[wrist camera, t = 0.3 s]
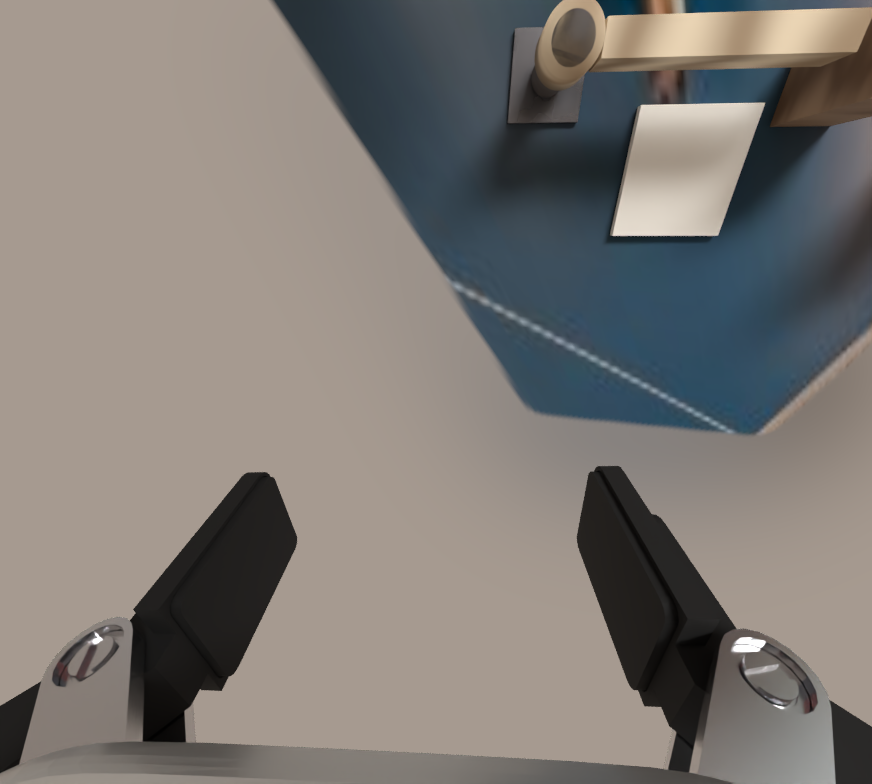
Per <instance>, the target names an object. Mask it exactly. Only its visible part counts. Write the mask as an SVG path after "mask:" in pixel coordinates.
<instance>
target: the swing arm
mask: <svg viewBox="0 0 872 784" xmlns="http://www.w3.org/2000/svg"><path fill="white" fill-rule="evenodd" d="M871 19H872V7H871V8H840V9H808V10H777V11H745V12H714V13H682V14H651V15H620V16H608V17H607V19H606V20H605V17H604V14H603V11H602V9H601V7H600V5H599V4H598V3H597V1H596V0H563V1H562V2H561V3H560V4H558V6H557V7H556V8H555V9H554V10H553V12H552V13H551V15H550V17H549V19H548V21H547V23H546V25H545V27H544V29H543V31H542V33H541V35H540V38H539V40H538V43H537V46H536V50H535V59H534V61H535V66H534V68H533V71H532V85H533V88H534V90H535V92H536V93H537V94H538V95H539V96H541V97H551V96H553V95H555V94H556V93H557V92H558V91H561V90H565V89H568V88H570V87H571V86H573V85H574V84H575V83H577V82H578V81H579V80H580V79H581V77H582V76H583V75H584V74H585V73H586V72H587V71H588V70H589V72H616V71H658V70H699V69H741V68H783V67H821V66H824V65H826V64H828V63H831V62H833V61H836V60H838V59H841V58H843V57H846V56H848V55H851V54H853V53H856V52H857V51H858V49H859V46H860V44H861V42H862V39H863V37H864V35H865V32H866V30H867V28H868V25H869V23H870V21H871Z"/></svg>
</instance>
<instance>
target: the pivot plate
mask: <svg viewBox="0 0 872 784" xmlns="http://www.w3.org/2000/svg"><path fill="white" fill-rule="evenodd" d="M543 29H544V27H534V28H515V33H514V46H513V59H512V72H511V85H510V98H509V111H508V123H507V124H534V123H577V121H578V115H579V108H580V102H581V95H582V89H583V82H584V76H585V74H584V75H583V76H582V77H581V79H580V80H579V81H578V82H577V83H575V84H574V85H573V86H571V87H570V88H568V89H565V90H561V91H558V92H557V93H556V94H555V95H553V96H551V97H541V96H539V95H538V94H537V93H536V92H535V90H534V88H533V85H532V71H533V68H534V66H535V61H534V59H535V50H536V46H537V43H538V40H539V38H540V35H541V33H542V31H543Z"/></svg>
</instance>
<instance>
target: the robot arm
mask: <svg viewBox="0 0 872 784" xmlns="http://www.w3.org/2000/svg"><path fill="white" fill-rule="evenodd" d="M577 543H578V548H579V551H580V553H581V556H582V559H583V562H584V564H585V567H586V570H587V572H588V575H589V578H590V581H591V583H592V586H593V589H594V592H595V594H596V597H597V600H598V602H599V605H600V608H601V610H602V613H603V616H604V619H605V621H606V624H607V627H608V629H609V632H610V635H611V638H612V640H613V643H614V646H615V648H616V651H617V654H618V656H619V659H620V662H621V665H622V668H623V670H624V673H625V675H626V678H627V681H628V683H629V685H630V687H631V688H632V689H633V690H638V691H639V693H640V696H641V698H642V701H643V704H644V706H652V707H653V706H655V707H662V710H663V712H664V715H665V717H666V719H667V722H668V724H669V726H670V727H671V728H672V729H673V730H672V734H671V738H670V743H669V747H668V751H667V755H666V759H665V764H664V768H663V769H658V768H651V767H639V766H624V765H613V764H599V763H587V762H573V761H556V760H539V759H521V758H503V757H484V756H466V755H448V754H429V753H409V752H407V753H406V752H389V751H369V750H348V749H328V748H306V747H284V746H262V745H240V744H239V745H238V744H216V743H196V737H195V724H194V710H193V701H194V699H195V697H196V695H197V693H198V691H199V690H200V689H201V690H215V691H222V689H223V687H224V685H225V683H226V681H227V679H228V677H229V676H231V675H233V674H234V673H235V671H236V670H237V668H238V666H239V664H240V662H241V660H242V658H243V656H244V653H245V652H246V650H247V648H248V646H249V644H250V641H251V639H252V637H253V635H254V633H255V631H256V629H257V627H258V625H259V623H260V621H261V619H262V617H263V615H264V612H265V610H266V608H267V606H268V604H269V602H270V600H271V598H272V596H273V594H274V592H275V590H276V587H277V585H278V583H279V581H280V579H281V577H282V575H283V573H284V571H285V569H286V567H287V565H288V562H289V561H290V558H291V556H292V554H293V552H294V550H295V548H296V544H297V536H296V533H295V530H294V528H293V526H292V523H291V520H290V518H289V515H288V512H287V510H286V507H285V505H284V502H283V499H282V497H281V494H280V491H279V489H278V486H277V484H276V481H275V479H274V478H273V477H270V475H269V474H268V473H266V472H257V473H256V472H255V473H246V474H244V475H243V476H242V477H241V478H240V480H239V481H238V482H237V483H236V485H235V486H234V487H233V488H232V489H231V491H230V492H229V493H228V494H227V496H226V497H225V498H224V499H223V500H222V502H221V503H220V504H219V505H218V507H217V508H216V509H215V510H214V511H213V513H212V514H211V515H210V516H209V518H208V519H207V520H206V521H205V522H204V524H203V525H202V526H201V527H200V529H199V530H198V531H197V532H196V533H195V535H194V536H193V537H192V538H191V540H190V541H189V542H188V543H187V544H186V546H185V547H184V548H183V549H182V551H181V552H180V553H179V554H178V555H177V557H176V558H175V559H174V560H173V562H172V563H171V564H170V565H169V567H168V568H167V569H166V570H165V571H164V573H163V574H162V575H161V576H160V577H159V579H158V580H157V581H156V582H155V584H154V585H153V586H152V587H151V589H150V590H149V591H148V592H147V593H146V595H145V596H144V597H143V598H142V599H141V601H140V602H139V603H138V605H137V606H136V607H135V608H134V609H133V610H134V611H135V612H136V614H135V615H134V616H133V617H132V619H131V620H130V621H129V620H128V619H127V618H122V617H116V618H111V619H107V620H104V621H102V622H99V623H97V624H95V625H93V626H91V627H90V628H88V629H87V630H85V631H83V632H82V633H80V634H79V635H78V636H76V637H75V638H74V639H73V640H71V641H70V642H69V643H68V644H67V645H66V646H65V647H64V648H63V649H62V650H61V651H60V652H59V653H58V654H57V655H56V656H55V658H54V659H53V660H52V662H51V663H50V664H49V666H48V667H47V669H46V671H45V674H44V676H43V678H42V681H41V682H39V683H38V684H36V685H34V686H33V687H31V688H29V689H28V690H26V691H24V692H23V693H21V694H19V695H18V696H16V697H14V698H13V699H11V700H9V701H8V702H6V703H5V704H3V705H1V706H0V784H872V727H871V726H870V725H868V724H866V723H865V722H863V721H862V720H860V719H859V718H857V717H855V716H854V715H852V714H851V713H849V712H847V711H846V710H844V709H843V708H841V707H840V706H838V705H837V704H835V703H833V702H832V701H830V700H829V698H828V694H827V692H826V690H825V688H824V687H823V685H822V683H821V681H820V680H819V678H818V677H817V675H816V674H815V673H814V672H813V671H812V670H811V668H810V667H809V666H808V665H807V664H806V663H805V662H804V661H803V660H802V659H801V658H800V657H799V656H797V655H796V654H795V653H794V652H792V650H790V649H789V648H788V647H786V646H784V645H783V644H781V643H780V642H778V641H777V640H775V639H773V638H771V637H769V636H766V635H764V634H762V633H760V632H757V631H752V630H748V629H736V627H735V626H734V624H733V623H732V621H731V620H730V619H729V617H728V616H727V614H726V613H725V611H724V610H723V608H722V607H721V605H720V604H719V602H718V601H717V600H716V598H715V596H714V595H713V594H712V592H711V591H710V589H709V588H708V586H707V585H706V583H705V582H704V580H703V579H702V577H701V576H700V574H699V573H698V571H697V570H696V568H695V567H694V565H693V564H692V563H691V562H690V560H689V558H688V557H687V555H686V554H685V552H684V551H683V549H682V548H681V546H680V545H679V543H678V542H677V540H676V539H675V537H674V536H673V535H672V533H671V532H670V530H669V529H668V527H667V526H666V524H665V523H664V522H663V521H662V519H661V518H659V517H658V516H657V515H652V514H651V513H650V511H649V510H648V508H647V506H646V505H645V504H644V502H643V500H642V499H641V498H640V496H639V494H638V493H637V491H636V490H635V488H634V487H633V485H632V484H631V482H630V480H629V479H628V477H627V476H626V474H625V473H624V471H623V470H622V469H621V467H619V466H598V467H596V469H595V471H594V472H590V473H589V475H588V480H587V486H586V491H585V497H584V501H583V508H582V512H581V517H580V523H579V528H578V534H577Z"/></svg>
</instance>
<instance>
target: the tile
mask: <svg viewBox="0 0 872 784" xmlns="http://www.w3.org/2000/svg"><path fill="white" fill-rule="evenodd" d="M764 105H765V103H723V104H671V105H641V106H639V107H638V109H637V113H636V118H635V122H634V127H633V132H632V136H631V141H630V145H629V150H628V154H627V159H626V164H625V168H624V173H623V177H622V182H621V186H620V191H619V196H618V200H617V205H616V209H615V214H614V219H613V223H612V228H611V232H610V236H718V234H719V231H720V229H721V226H722V223H723V220H724V217H725V215H726V212H727V209H728V206H729V203H730V201H731V198H732V195H733V192H734V189H735V187H736V184H737V181H738V178H739V175H740V173H741V170H742V167H743V164H744V161H745V159H746V156H747V153H748V150H749V147H750V144H751V142H752V139H753V136H754V133H755V130H756V128H757V125H758V122H759V119H760V116H761V114H762V111H763V108H764Z"/></svg>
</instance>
